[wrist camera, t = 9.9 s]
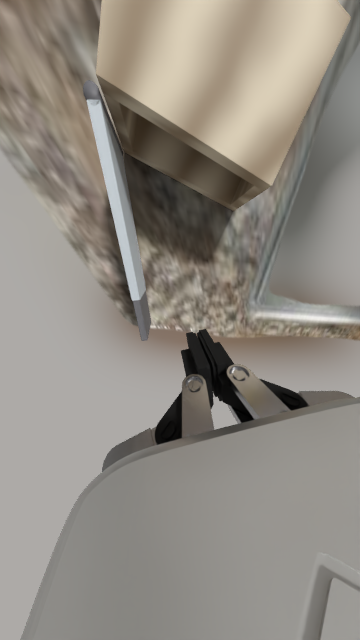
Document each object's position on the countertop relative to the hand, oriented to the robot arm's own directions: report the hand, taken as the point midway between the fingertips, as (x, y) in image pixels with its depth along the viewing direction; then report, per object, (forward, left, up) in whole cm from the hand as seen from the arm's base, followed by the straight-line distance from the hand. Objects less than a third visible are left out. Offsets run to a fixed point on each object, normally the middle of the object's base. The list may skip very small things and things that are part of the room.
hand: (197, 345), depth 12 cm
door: (-9, +5, -14) cm, 17 cm away
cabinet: (-5, +20, -15) cm, 26 cm away
